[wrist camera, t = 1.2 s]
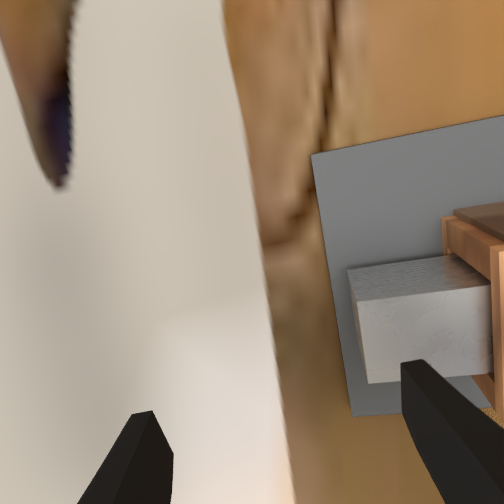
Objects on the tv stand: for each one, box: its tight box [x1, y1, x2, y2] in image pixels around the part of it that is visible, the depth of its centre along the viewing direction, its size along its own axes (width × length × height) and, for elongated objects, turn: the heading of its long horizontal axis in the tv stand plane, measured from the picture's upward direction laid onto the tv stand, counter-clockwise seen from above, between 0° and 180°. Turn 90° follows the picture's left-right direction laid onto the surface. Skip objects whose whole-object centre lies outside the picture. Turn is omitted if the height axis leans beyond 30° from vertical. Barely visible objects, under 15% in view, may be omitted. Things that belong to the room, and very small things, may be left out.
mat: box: [311, 115, 504, 417], centre depth 20 cm, size 16×17×1 cm
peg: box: [347, 254, 494, 384], centre depth 17 cm, size 4×8×4 cm, turn 102°
